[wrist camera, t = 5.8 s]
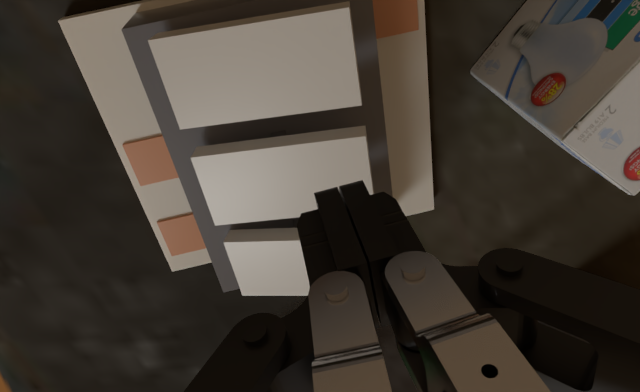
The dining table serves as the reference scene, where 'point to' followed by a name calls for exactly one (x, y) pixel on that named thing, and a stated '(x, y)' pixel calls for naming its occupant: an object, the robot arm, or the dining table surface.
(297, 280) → the rocker back
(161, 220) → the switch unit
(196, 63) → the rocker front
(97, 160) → the dining table surface
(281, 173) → the rocker middle
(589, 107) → the light bulb box
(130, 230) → the dining table surface
